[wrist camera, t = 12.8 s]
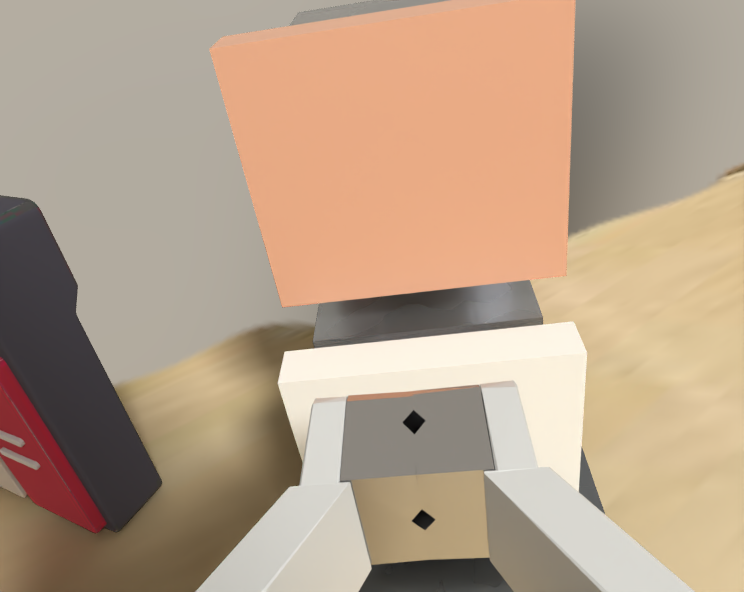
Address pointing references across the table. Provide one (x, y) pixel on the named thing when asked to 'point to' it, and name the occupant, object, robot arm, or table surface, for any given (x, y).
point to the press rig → (423, 319)
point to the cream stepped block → (457, 379)
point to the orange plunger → (407, 146)
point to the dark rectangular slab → (59, 390)
